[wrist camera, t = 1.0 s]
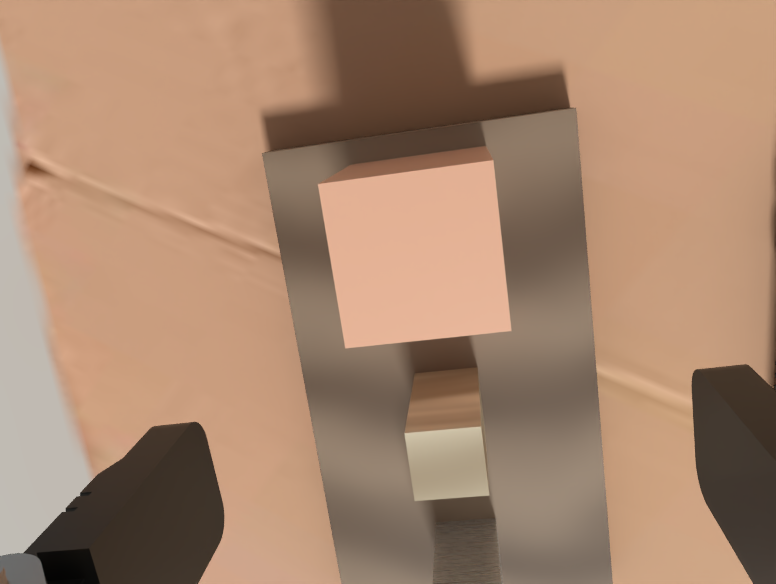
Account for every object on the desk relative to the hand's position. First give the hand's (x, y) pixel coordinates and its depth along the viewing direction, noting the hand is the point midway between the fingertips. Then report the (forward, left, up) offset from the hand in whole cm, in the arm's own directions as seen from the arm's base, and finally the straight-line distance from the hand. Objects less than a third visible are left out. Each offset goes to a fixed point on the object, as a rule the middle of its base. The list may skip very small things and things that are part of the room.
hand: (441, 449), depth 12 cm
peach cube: (-1, -1, -17) cm, 17 cm away
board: (+6, -1, -19) cm, 19 cm away
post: (+14, -1, -17) cm, 22 cm away
